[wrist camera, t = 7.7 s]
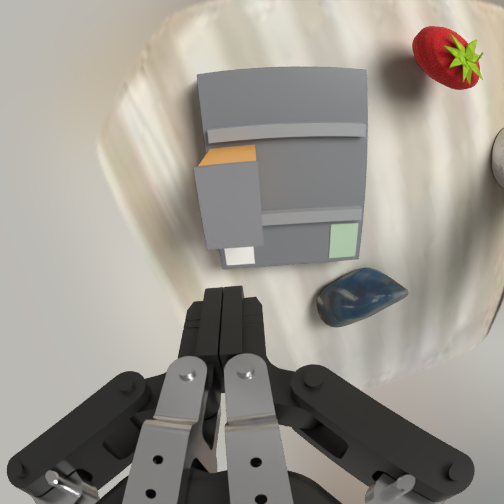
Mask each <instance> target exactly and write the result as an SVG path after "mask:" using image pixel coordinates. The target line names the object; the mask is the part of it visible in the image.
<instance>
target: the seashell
mask: <svg viewBox="0 0 504 504" xmlns="http://www.w3.org/2000/svg"><path fill="white" fill-rule="evenodd" d="M407 295H408V290H407V289H405V288H404V287H403V286H401V285H400V284H398V283H397V282H396V281H394V280H393V279H391V278H390V277H388V276H387V275H385V274H383V273H381V272H379V271H377V270H375V269H371V268H363V269H358V270H355V271H353V272H351V273H349V274H346V275H345V276H343V277H341V278H340V279H338V280H336V281H334V282H333V283H331V284H329V285H327V286H326V287H325V288H324V289H323V290H322V292H321V293H320V295H319V296H318V298H317V309H318V313H319V315H320V317H321V319H322V320H323V322H324V323H325V324H327V325H329V326H331V327H342V326H346V325H349V324H352V323H354V322H357V321H360V320H362V319H365V318H368V317H370V316H372V315H374V314H376V313H377V312H379V311H381V310H383V309H385V308H387V307H388V306H390V305H392V304H394V303H396V302H398V301H399V300H401V299H403V298H405V297H406V296H407Z"/></svg>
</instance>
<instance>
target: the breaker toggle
mask: <svg viewBox="0 0 504 504" xmlns="http://www.w3.org/2000/svg"><path fill="white" fill-rule="evenodd" d="M194 174H195V181H196V187H197V193H198V200H199V206H200V212H201V218H202V224H203V230H204V235H205V241H206V247H207V250H212V249H226V248H240V247H255V246H264V241H263V227H262V213H261V199H260V186H259V173H258V161H256V150H255V145H245V146H233V147H223V148H214V149H210V150H209V151H208V153H207V154H206V155H205V157H204V158H203V160H202V161H201V163H200V164H199V166H196V167H195V168H194Z"/></svg>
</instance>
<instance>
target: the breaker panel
mask: <svg viewBox="0 0 504 504" xmlns="http://www.w3.org/2000/svg"><path fill="white" fill-rule="evenodd" d="M197 82H198V91H199V100H200V109H201V118H202V126H203V134H204V142H205V150H206V154H207V153H208V151H209V150H210V149H214V148H223V147H233V146H245V145H255V150H256V161H258V173H259V186H260V199H261V213H262V227H263V241H264V246H255V247H240V248H226V249H220V254H221V261H222V267H223V269H231V268H247V267H261V266H276V265H290V264H304V263H317V262H330V261H343V260H355V259H359V251H360V243H361V234H362V224H363V213H364V201H365V186H366V168H367V133H368V110H367V76H366V70H362V69H351V68H335V67H266V68H250V69H238V70H228V71H220V72H212V73H204V74H198V75H197Z"/></svg>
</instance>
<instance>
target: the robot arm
mask: <svg viewBox="0 0 504 504" xmlns="http://www.w3.org/2000/svg"><path fill="white" fill-rule="evenodd" d="M492 170H493V174H494V177H495V179H496V181H497V183H498V184H499V185H500V186H502V187H503V188H504V129H502V130H501V131H500V133H499V134H498V136H497V138H496V140H495V143H494V146H493V151H492ZM221 393H225V399H226V413H227V414H226V415H227V423H226V424H225V442H226V456H227V469H228V470H226V471H221V472H217V458H216V447H217V440H218V432H219V424H220V416H221V406H220V401H221ZM279 425H284V426H290V427H292V428H293V430H294V431H295V432H297V433H298V434H299V435H300V436H302V437H303V438H304V439H305V440H307V441H308V442H309V443H310V444H311V445H313V446H314V447H315V448H316V449H318V450H319V451H320V452H322V453H323V454H325V455H326V456H327V457H328V458H329V459H331V460H332V461H334V462H335V463H336V464H338V465H339V466H340V467H342V468H343V469H344V470H346V471H347V472H349V473H350V474H351V475H353V476H354V477H355V478H357V479H358V480H360V481H361V482H363V483H364V484H366V485H367V486H369V488H368V490H367V492H366V495H365V503H366V504H443V503H444V502H445V501H446V500H447V499H449V498H451V497H453V496H455V495H456V494H459V493H460V492H462V491H464V490H465V489H466V488H467V487H468V486H469V485H470V483H471V482H472V479H473V476H474V464H473V462H472V460H471V459H470V457H469V456H467V455H466V454H464V453H463V452H461V451H459V450H457V449H455V448H453V447H452V446H450V445H448V444H446V443H445V442H443V441H441V440H439V439H438V438H436V437H434V436H433V435H431V434H429V433H427V432H426V431H424V430H422V429H421V428H419V427H418V426H416V425H414V424H413V423H411V422H409V421H408V420H406V419H404V418H403V417H401V416H400V415H398V414H396V413H395V412H393V411H392V410H390V409H388V408H387V407H385V406H383V405H382V404H380V403H379V402H377V401H376V400H374V399H373V398H371V397H370V396H368V395H366V394H365V393H363V392H362V391H360V390H359V389H357V388H356V387H354V386H353V385H351V384H350V383H348V382H347V381H345V380H344V379H342V378H341V377H339V376H338V375H336V374H335V373H333V372H332V371H331V370H329V369H328V368H326V367H324V366H321V365H306V366H303V367H301V368H299V369H298V370H297V371H296V372H294V371H288V370H283V369H280V368H277V367H276V366H274V365H273V364H271V363H270V361H269V360H268V358H267V356H266V347H265V335H264V323H263V312H262V304H261V303H260V302H259V300H258V299H257V298H256V297H249V298H244V293H243V287H242V286H231V287H220V288H207V289H205V293H204V300H203V301H197V302H193V304H192V305H191V306H190V308H189V309H188V310H187V314H186V319H185V324H184V330H183V334H182V339H181V344H180V350H179V355H178V359H177V360H175V361H174V362H173V363H172V364H171V365H170V366H169V368H168V370H167V372H166V373H164V374H161V375H158V376H154V377H151V378H146V379H144V378H143V376H142V375H140V374H139V373H137V372H133V371H127V372H123V373H121V374H119V375H117V376H116V377H115V378H113V379H112V380H111V381H110V382H108V383H107V384H106V385H105V386H103V387H102V388H101V389H100V390H98V391H97V392H96V393H94V394H93V395H92V396H91V397H89V398H88V399H87V400H85V401H84V402H83V403H82V404H81V405H79V406H78V407H76V408H75V409H74V410H73V411H71V412H70V413H69V414H68V415H66V416H65V417H64V418H62V419H61V420H60V421H59V422H57V423H56V424H55V425H53V426H52V427H51V428H50V429H48V430H47V431H46V432H44V433H43V434H42V435H40V436H39V437H38V438H37V439H35V440H34V441H33V442H31V443H30V444H29V445H27V446H26V447H25V448H24V449H22V450H21V451H20V452H18V453H17V454H16V455H14V456H13V457H12V458H11V459H10V460H9V463H8V465H7V475H8V478H9V481H10V482H11V483H12V484H13V485H14V486H15V487H17V488H19V489H21V490H22V491H24V492H26V493H28V494H29V495H30V496H32V498H33V499H34V501H35V503H36V504H342V503H341V502H340V501H338V500H337V499H336V498H334V497H333V496H332V495H331V494H330V493H328V492H327V491H326V490H325V489H323V488H322V487H321V486H320V485H319V484H317V483H316V482H315V481H313V480H311V479H310V478H308V477H306V476H304V475H301V474H298V473H295V472H292V471H287V467H286V462H285V457H284V451H283V446H282V440H281V435H280V430H279ZM131 463H132V465H131V469H130V473H129V475H128V476H127V477H125V478H124V479H123V480H122V481H120V482H119V483H118V484H117V485H116V486H115V487H114V488H113V489H111V490H110V491H109V492H108V493H107V494H105V495H104V496H103V497H102V498H101V499H100V497H99V496H98V490H99V489H100V488H101V487H103V486H104V485H105V484H106V483H108V482H109V481H110V480H111V479H113V478H114V477H115V476H116V475H118V474H119V473H120V472H121V471H123V470H124V469H125V468H126V467H127V466H129V465H130V464H131Z"/></svg>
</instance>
